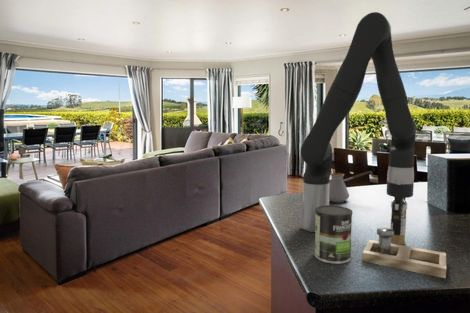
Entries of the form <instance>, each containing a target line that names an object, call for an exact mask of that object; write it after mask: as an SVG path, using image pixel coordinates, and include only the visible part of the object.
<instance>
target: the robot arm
mask: <svg viewBox="0 0 470 313" xmlns="http://www.w3.org/2000/svg"><path fill="white" fill-rule="evenodd" d="M392 39H393V38H392V26H391V23H390V21H389V20H388V18H387V17H386V16H385V15H384V14H383V13H381V12H378V11H375V12H374V11H373V12H369V13H367V14H366V15H365V16H363V17H362V18H361V19H360V20H359V22H358V24H357V26H356V28H355V31H354V34H353V36H352V40H351V42H350V44H349V48H348V50H347V53H346V56H345V58H344V59H343V61H342V63H341V65H340V67H339V69H338V71H337V73H336V75H335V77H334V79H333V81H332V83H331V85H330V88H329V89H328V91H327V93H326V96H325V99H324V102H322V106H321V107H320V109H319V112H318V114H317V118H316V119H315V122H314V124H313V126H312V128H311V129H310V131H309V133H308V134H307V136H306V137H305V139H304V141H303V143H302V144H301V147H300V156H301V160H302V161H303V162H304V163H305V164H306V168H305V171H304V173H303V177H302V202H301V203H300V229H301V230H304V231H307V232H311V233H315V223H316V212H315V209H316V208H317V207H319V206H326V205H330V201H329V183H330V181H331V173H332V168H333V167H332V166H333V147H332V144H331V140H332V138H333V136H334V134H335V132H336V130H337V129H338V128H339V126H340V125H341V124H342V123H343V121H344V120H345V119H346V117H347V116H348V114H350V112H351V110H352V109H353V107H354V105H355V103H356V101H357V99H358V96H359V94H360V93H361V91H362V87H363V85H364V81H365V77H366V72H367V69H368V66H369V63H370V61H372V64H373V66H374V71H375V77H376V83H377V89H378V93H379V96H380V99H381V101H380V102H381V103H382V106H383V109H384V112H385V119H386V124H387V128H388V131H389V134H390V136H391V140H390V141H391V144H390V145H391V147H390V150H389V153H388V167H387V168H388V169H387V174H386V176H387V177H386V195H388V196H390V197H393V198H394V199H392V201H391V202H392V207H391V213H390V215H391V214H392V220H391V219H390V222H391V221H392V223H393V231H394V235H400V234H401V223H402V217H404V209H405V208H406V203H407V204H408V201H407V200H406V199H409V198H412V197H413V196H414V186H415V185H414V183H415V182H414V180H415V170H414V165H415V142H416V135H417V133H416V132H417V125H416V123H415V121H414V120H413V117H412V113H411V111H410V108H409V100H408V96H407V93H406V89H405V85H404V83H403V82H404V81H403V79H402V77H401V76H402V75H401V73H400V70H399V68H398V65H397V62H396V58H395V54H394V49H393V40H392ZM403 202H406V203H403ZM402 206H403V208H402ZM395 216H398V217H399V219H395Z"/></svg>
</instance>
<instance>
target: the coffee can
mask: <svg viewBox="0 0 470 313" xmlns="http://www.w3.org/2000/svg"><path fill="white" fill-rule="evenodd" d="M315 212H316V223H315V232H314V234H315V235H314V236H315V238H314V240H315V241H314V242H315V243H314V244H315V245H314V256H315V258H316V259H317V260H319V261H321V262H323V263H327V264H332V265H341V264H346V263H348V262H350V261H351V259H352V257H351V252H352V251H351V250H352V224H353V223H352V222H353V221H352V220H353V210H352V209H350V208H348V207H345V206H340V205H330V204H329V205H326V206H319V207H317V208H316V209H315Z"/></svg>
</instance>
